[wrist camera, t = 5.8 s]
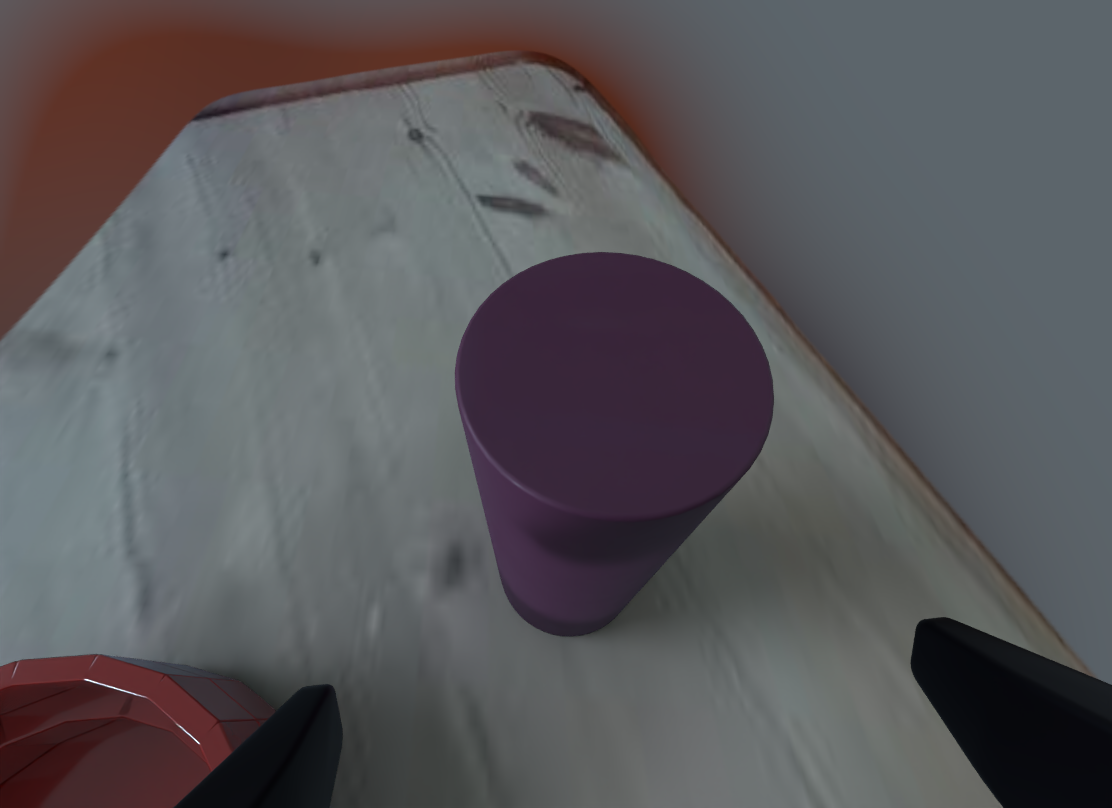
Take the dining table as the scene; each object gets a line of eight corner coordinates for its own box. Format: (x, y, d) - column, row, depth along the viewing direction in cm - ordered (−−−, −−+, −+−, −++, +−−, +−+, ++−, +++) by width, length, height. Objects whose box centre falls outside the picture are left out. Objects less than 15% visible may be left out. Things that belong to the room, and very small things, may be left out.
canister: (663, 572, 19) (841, 385, 8) (560, 669, 18) (608, 602, 6) (573, 474, 21) (620, 211, 10) (472, 554, 20) (390, 344, 8)
